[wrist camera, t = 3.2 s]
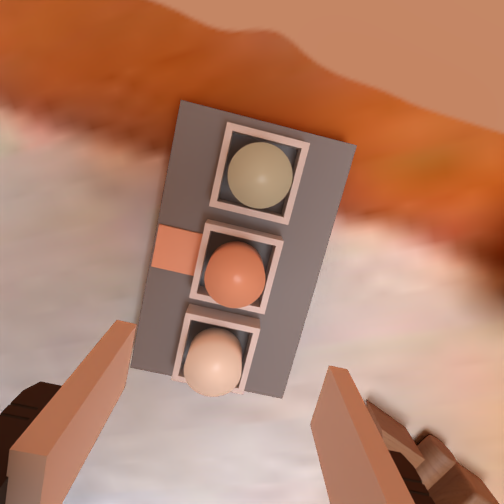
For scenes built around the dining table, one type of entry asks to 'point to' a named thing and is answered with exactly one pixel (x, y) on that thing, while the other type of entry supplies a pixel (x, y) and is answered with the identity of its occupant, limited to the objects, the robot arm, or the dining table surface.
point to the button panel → (244, 230)
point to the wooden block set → (432, 464)
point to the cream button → (213, 362)
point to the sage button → (260, 175)
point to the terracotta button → (235, 275)
